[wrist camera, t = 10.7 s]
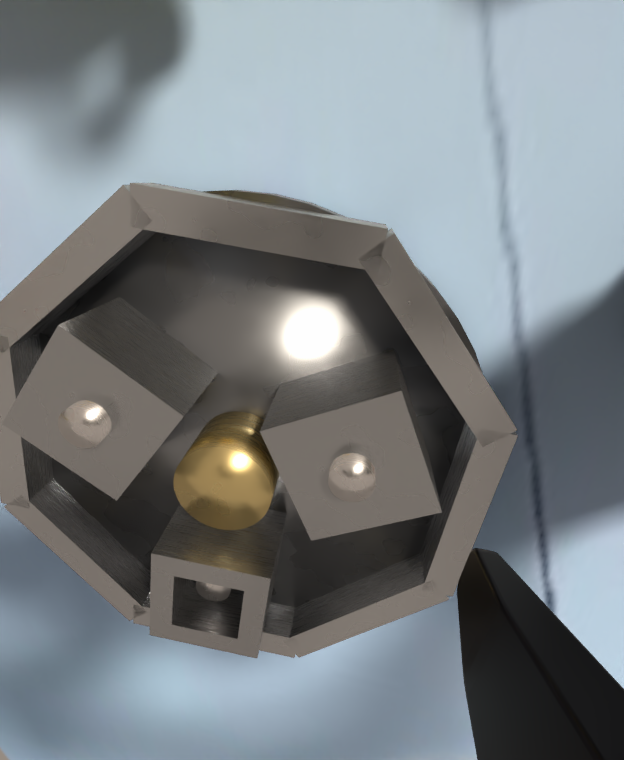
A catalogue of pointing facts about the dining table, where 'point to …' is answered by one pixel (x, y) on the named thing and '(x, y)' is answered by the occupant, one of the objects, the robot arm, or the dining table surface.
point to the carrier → (248, 406)
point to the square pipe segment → (214, 582)
